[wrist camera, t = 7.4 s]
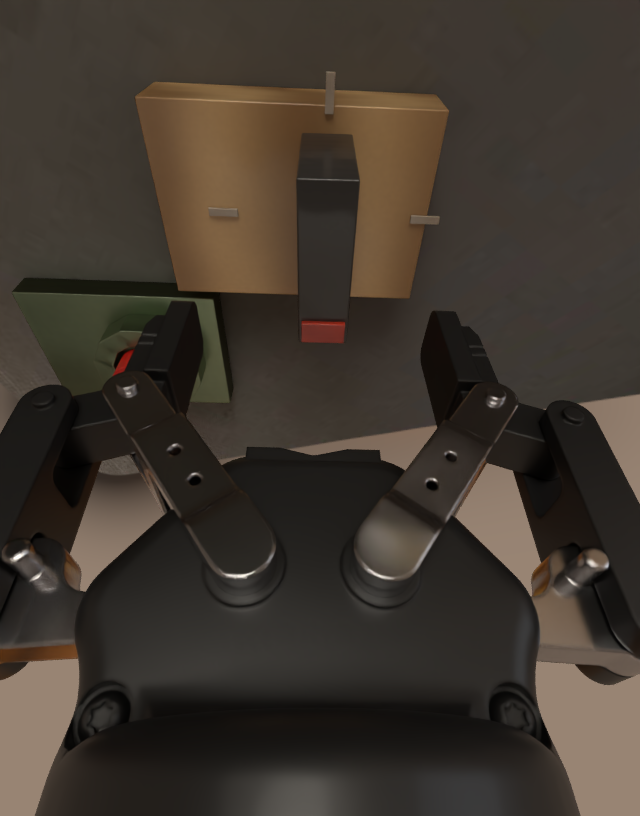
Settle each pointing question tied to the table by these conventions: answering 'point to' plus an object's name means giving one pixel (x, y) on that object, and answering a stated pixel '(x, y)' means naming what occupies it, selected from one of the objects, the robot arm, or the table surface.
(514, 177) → the table surface
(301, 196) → the dark grey flat block
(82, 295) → the button box
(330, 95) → the wooden base block
